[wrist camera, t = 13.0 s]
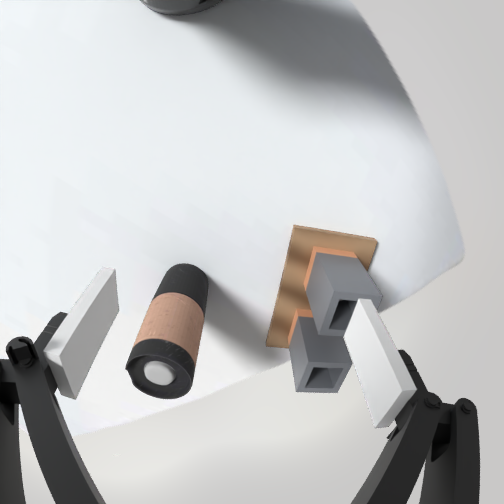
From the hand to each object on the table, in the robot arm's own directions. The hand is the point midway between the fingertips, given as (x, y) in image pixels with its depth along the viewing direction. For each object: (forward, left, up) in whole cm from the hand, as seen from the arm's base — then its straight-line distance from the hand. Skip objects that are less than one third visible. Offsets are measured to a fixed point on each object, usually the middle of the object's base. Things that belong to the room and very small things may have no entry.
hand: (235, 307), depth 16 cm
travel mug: (+17, -6, -29) cm, 34 cm away
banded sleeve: (+21, +15, -27) cm, 38 cm away
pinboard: (+16, +15, -28) cm, 36 cm away
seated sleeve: (+10, +15, -27) cm, 33 cm away
